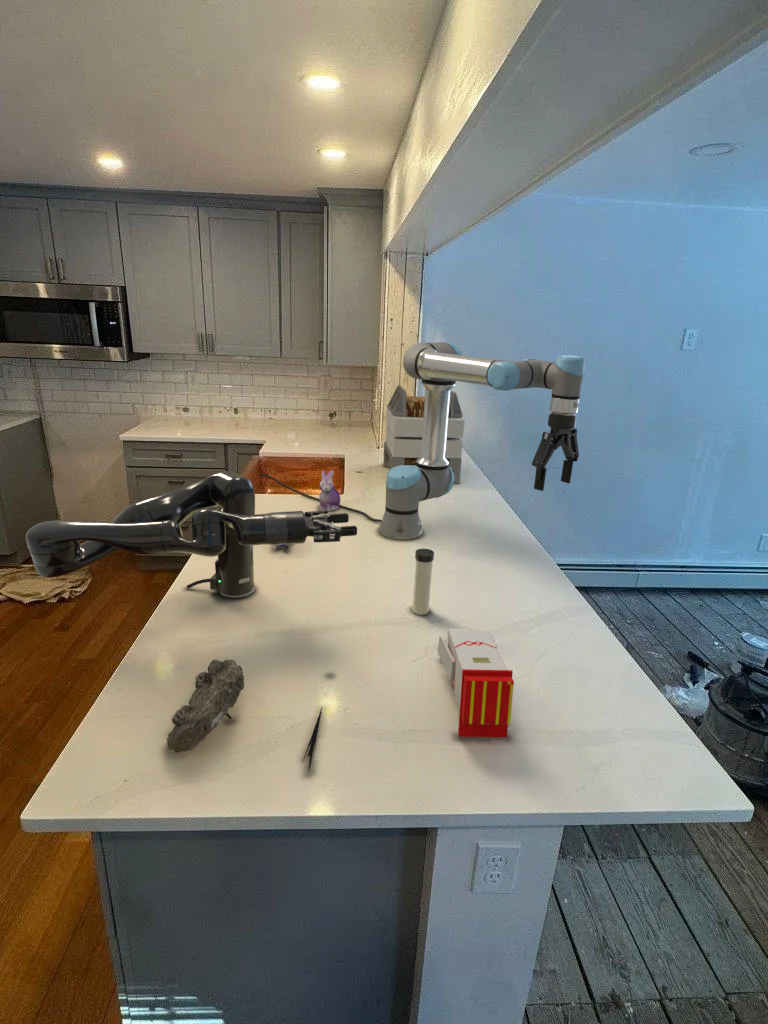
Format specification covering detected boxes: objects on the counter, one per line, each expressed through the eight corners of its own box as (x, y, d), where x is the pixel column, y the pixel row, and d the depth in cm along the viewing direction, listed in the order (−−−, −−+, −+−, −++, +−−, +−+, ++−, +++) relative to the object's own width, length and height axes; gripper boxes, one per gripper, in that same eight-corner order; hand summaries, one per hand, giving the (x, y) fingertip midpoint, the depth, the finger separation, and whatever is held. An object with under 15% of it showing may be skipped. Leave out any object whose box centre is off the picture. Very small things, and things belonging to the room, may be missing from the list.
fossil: (192, 660, 117) (244, 628, 112) (224, 691, 120) (276, 661, 115) (142, 746, 98) (202, 712, 93) (182, 779, 101) (242, 748, 96)
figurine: (322, 513, 216) (323, 475, 211) (313, 504, 224) (313, 468, 219) (345, 510, 220) (346, 473, 215) (335, 502, 229) (335, 466, 223)
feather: (331, 679, 122) (336, 673, 122) (307, 777, 96) (313, 769, 95) (324, 675, 122) (329, 669, 121) (298, 772, 95) (304, 764, 95)
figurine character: (291, 556, 181) (297, 534, 194) (291, 536, 177) (297, 514, 191) (270, 556, 181) (278, 533, 194) (269, 535, 177) (277, 513, 191)
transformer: (382, 463, 289) (386, 382, 275) (445, 464, 293) (451, 384, 279) (390, 482, 257) (394, 392, 243) (460, 483, 261) (468, 394, 247)
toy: (488, 613, 130) (523, 677, 101) (484, 667, 133) (517, 744, 104) (435, 612, 130) (455, 676, 101) (432, 666, 133) (451, 743, 103)
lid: (436, 561, 143) (436, 555, 142) (417, 562, 142) (418, 556, 141) (430, 554, 147) (431, 548, 147) (413, 555, 146) (413, 548, 146)
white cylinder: (430, 614, 148) (435, 556, 143) (414, 615, 147) (418, 557, 142) (426, 606, 152) (430, 550, 147) (410, 607, 151) (414, 550, 146)
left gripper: (280, 531, 138) (345, 527, 142) (288, 555, 125) (359, 550, 130) (279, 502, 135) (346, 499, 140) (287, 523, 123) (360, 519, 127)
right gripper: (548, 419, 148) (537, 496, 155) (598, 411, 163) (586, 482, 171) (525, 414, 153) (515, 489, 160) (575, 407, 169) (564, 476, 176)
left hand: (352, 524), depth 135 cm, fingers open, 8 cm apart
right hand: (552, 485), depth 166 cm, fingers open, 13 cm apart
